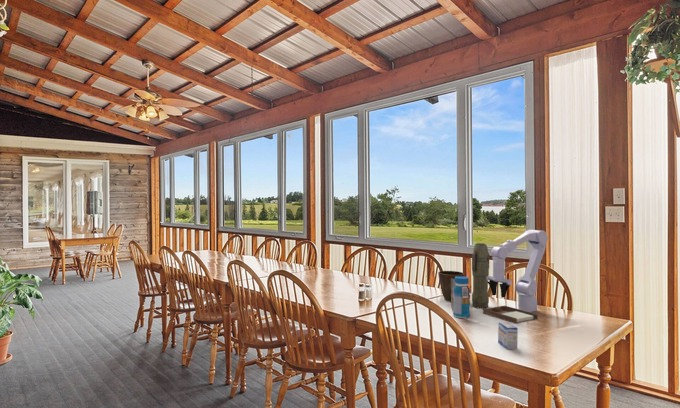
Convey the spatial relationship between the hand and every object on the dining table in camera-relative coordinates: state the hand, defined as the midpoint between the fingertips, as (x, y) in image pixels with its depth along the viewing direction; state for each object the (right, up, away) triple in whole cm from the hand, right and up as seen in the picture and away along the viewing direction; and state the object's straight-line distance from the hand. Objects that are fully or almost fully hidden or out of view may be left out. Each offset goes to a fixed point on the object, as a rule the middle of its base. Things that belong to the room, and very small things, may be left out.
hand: (498, 296), depth 217 cm
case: (+4, -10, -7) cm, 12 cm away
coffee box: (-19, -10, +9) cm, 23 cm away
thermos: (-4, -10, +16) cm, 19 cm away
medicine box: (-14, -10, -47) cm, 50 cm away
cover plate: (+5, -9, -10) cm, 14 cm away
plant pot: (-16, -9, +32) cm, 37 cm away
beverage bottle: (-20, -10, -4) cm, 23 cm away
